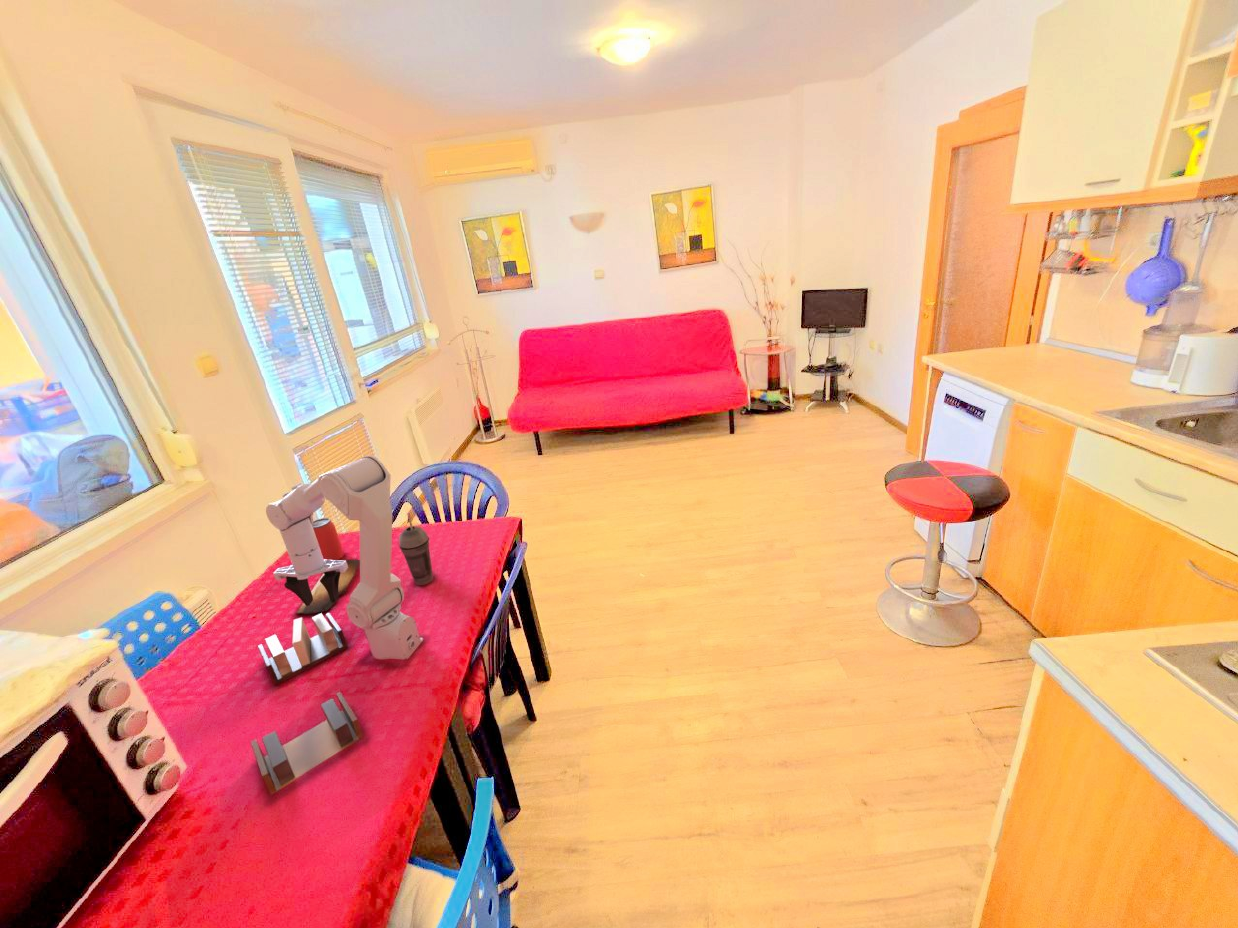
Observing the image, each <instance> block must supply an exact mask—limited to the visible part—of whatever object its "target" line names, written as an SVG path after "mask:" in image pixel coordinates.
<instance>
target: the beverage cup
mask: <svg viewBox="0 0 1238 928" xmlns="http://www.w3.org/2000/svg"><path fill="white" fill-rule="evenodd" d="M407 517H408V518H407V519H408V522H409V527H405V529H403V531H402V532H401V533H400V535H399V538H398V548H400V551H401V553H402V554H403V556H404V559H405V562H406V565H407V567H408V569H409V571H410V575H411V577H412V579H413V581H414V583H415V585H417V586H424V585H425V586H426V585H428V584H429V583H431V582H432V581H433V580H434V574H433V567H432V561H431V553H430V537H429V536H428V533H427V531H425V530H424V529H423V528H421V527H419V526H415V525H413V523H412V517H411V513H410V512H408V513H407Z"/></svg>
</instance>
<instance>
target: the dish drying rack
mask: <svg viewBox="0 0 1238 928" xmlns="http://www.w3.org/2000/svg"><path fill="white" fill-rule="evenodd" d="M311 620H312V623H313V625H314V628H315V630H316V633H317V634H316V635H314V636H312V637H310V663H309V664H307V665H304V666H301V664H300V662H299V659H298V657H297V654H296V652H295V649H294V647H293V646H292V647H289V648H287V649H285V650H284V648H283V645H282V644H281V642H280V639H279V638H278V636H277V634H276V633H275V634H273V635H271V636H269V637H267V638H264V641H265V643H266V646H267V648H268V651H269V652H270V656H271V657H269V656H268V654H267V651H266V649H265V647H264V645H263V643H260V644H258V645H257V649H258V650H259V652H260V655H261V657H262V659H263V662H264V664H265V667H266V669H267V670H268V674H269V676H270V678H271V680H272V681H273V684H274V686H277V685H279V684H281V683H283V682H285V681H287V680H289V679H292V678H293V677H295V676H297V675H300V673H303V672H304V671H307V670H308V669H310V668H313V667H315V666H317V665H318V664H320V663H322V662H324V661H326V660H328V659H330V658H332V657H334V656H337V654H339V653H342V652H343V651H346V650H348V649H349V646H348V643H347V640H346V637H345V634H344V631H343V629H342V628H341V626H340V625H339V623H337V621H336V620H335V618H334V617H333V615H332V614H331V612H327V613H326V614H325V616H324V615H323V612H321V613H318V614H316V615H314V616H311Z"/></svg>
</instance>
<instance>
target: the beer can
mask: <svg viewBox="0 0 1238 928" xmlns="http://www.w3.org/2000/svg"><path fill="white" fill-rule="evenodd" d="M313 521H314V524H313V525H312V527H313V530H314V533H315V536H316V538H317V541H318V544H319V547H320V550H321V553H322V556H323V559H326V560H338V561H341V560H342V558H343V557H344V550H343V547H342V543H341V540H340V538H339V537H340V536H339V534H338V531H337V528H336V525H335V524H334V523H333V521H332V519H330V517H329V518H328V517H324V518H318V519H316V520H313Z"/></svg>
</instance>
